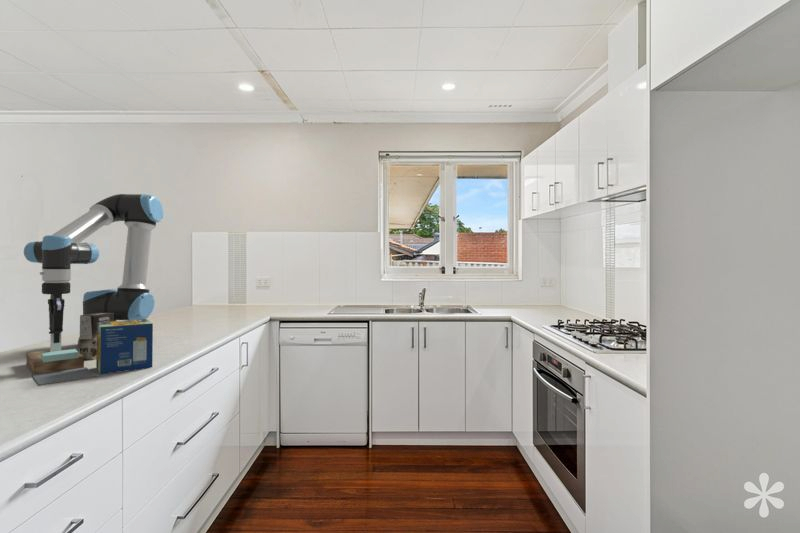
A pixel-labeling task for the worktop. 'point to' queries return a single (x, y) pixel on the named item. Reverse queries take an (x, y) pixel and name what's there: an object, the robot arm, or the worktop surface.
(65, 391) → the worktop surface
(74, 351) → the mint green rectangular slab
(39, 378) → the mat
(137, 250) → the robot arm
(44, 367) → the brown wooden block
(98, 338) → the protein box
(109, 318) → the coffee box
